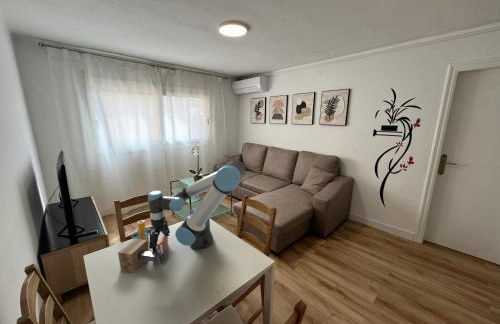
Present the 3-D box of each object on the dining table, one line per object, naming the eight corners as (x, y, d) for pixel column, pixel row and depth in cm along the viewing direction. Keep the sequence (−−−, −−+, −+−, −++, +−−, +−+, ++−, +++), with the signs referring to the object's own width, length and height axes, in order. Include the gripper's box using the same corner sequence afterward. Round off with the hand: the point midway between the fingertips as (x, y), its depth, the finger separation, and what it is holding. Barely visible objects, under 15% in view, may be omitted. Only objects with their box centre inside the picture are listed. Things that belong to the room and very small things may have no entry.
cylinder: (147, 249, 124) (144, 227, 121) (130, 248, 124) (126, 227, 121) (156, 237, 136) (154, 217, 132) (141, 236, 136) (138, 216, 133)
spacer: (167, 247, 126) (166, 236, 124) (160, 255, 119) (158, 244, 117) (163, 246, 126) (162, 236, 125) (155, 254, 119) (154, 243, 117)
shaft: (167, 259, 111) (166, 251, 110) (161, 266, 106) (160, 257, 105) (138, 254, 114) (137, 246, 113) (131, 261, 109) (130, 253, 108)
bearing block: (149, 256, 118) (147, 240, 115) (134, 272, 106) (131, 254, 103) (137, 254, 119) (134, 238, 116) (120, 270, 108) (117, 252, 105)
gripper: (163, 208, 128) (166, 239, 134) (138, 226, 107) (143, 262, 113) (173, 209, 127) (176, 240, 132) (151, 228, 106) (155, 264, 111)
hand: (161, 250), depth 123 cm, fingers open, 9 cm apart
